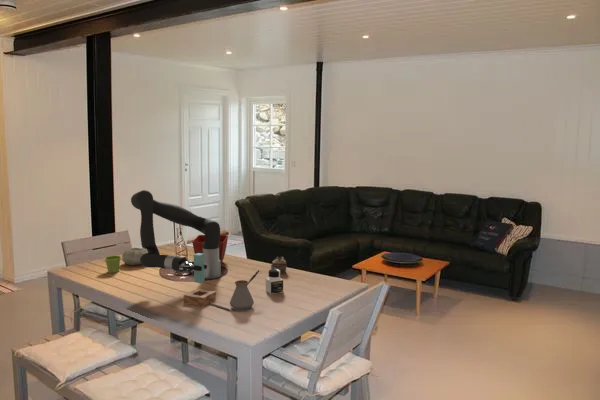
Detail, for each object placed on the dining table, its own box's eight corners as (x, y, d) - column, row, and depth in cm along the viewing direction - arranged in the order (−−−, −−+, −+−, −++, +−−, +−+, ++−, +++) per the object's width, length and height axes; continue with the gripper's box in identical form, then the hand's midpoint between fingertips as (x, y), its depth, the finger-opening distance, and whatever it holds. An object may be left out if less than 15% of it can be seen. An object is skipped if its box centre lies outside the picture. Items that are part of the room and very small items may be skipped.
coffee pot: (244, 314, 227) (244, 283, 225) (224, 309, 233) (224, 279, 231) (269, 300, 246) (269, 271, 244) (250, 296, 251) (250, 268, 249)
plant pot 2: (223, 268, 300) (223, 241, 298) (192, 268, 301) (191, 241, 298) (228, 260, 319) (228, 235, 317) (199, 260, 320) (198, 234, 317)
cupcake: (284, 270, 298) (284, 254, 296) (288, 274, 289) (288, 258, 287) (268, 271, 295) (268, 255, 293) (273, 276, 286) (273, 259, 284)
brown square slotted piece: (197, 296, 251) (197, 288, 251) (215, 299, 247) (215, 291, 246) (184, 302, 242) (184, 295, 241) (202, 306, 237) (202, 298, 236)
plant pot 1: (116, 274, 288) (115, 260, 286) (101, 273, 290) (100, 259, 288) (125, 270, 297) (124, 256, 295) (110, 269, 299) (110, 255, 297)
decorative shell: (144, 258, 323) (144, 243, 321) (157, 264, 310) (156, 248, 308) (117, 263, 311) (117, 248, 309) (129, 269, 298) (129, 253, 296)
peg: (198, 280, 245) (198, 252, 243) (204, 281, 244) (204, 253, 242) (194, 282, 242) (193, 254, 240) (200, 283, 240) (199, 255, 238)
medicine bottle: (271, 294, 254) (270, 272, 252) (265, 290, 260) (265, 268, 258) (283, 292, 257) (283, 270, 255) (277, 288, 263) (277, 267, 262)
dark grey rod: (208, 304, 240) (208, 302, 240) (210, 303, 241) (209, 302, 240) (229, 311, 231) (228, 309, 231) (230, 310, 232) (230, 308, 232)
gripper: (166, 259, 241) (194, 263, 234) (184, 253, 253) (212, 256, 246) (166, 274, 242) (195, 279, 235) (184, 267, 254) (212, 271, 247)
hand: (203, 267), depth 240 cm, fingers closed on peg, 3 cm apart
